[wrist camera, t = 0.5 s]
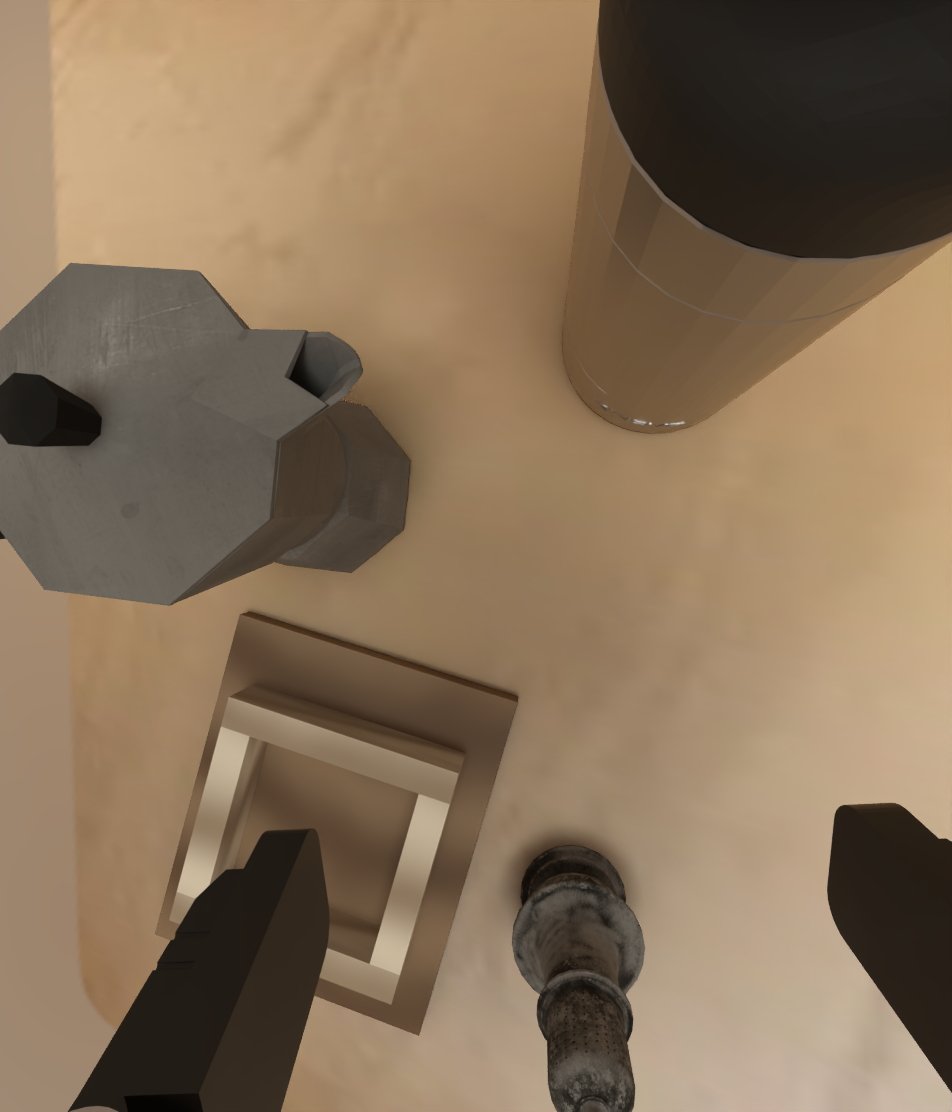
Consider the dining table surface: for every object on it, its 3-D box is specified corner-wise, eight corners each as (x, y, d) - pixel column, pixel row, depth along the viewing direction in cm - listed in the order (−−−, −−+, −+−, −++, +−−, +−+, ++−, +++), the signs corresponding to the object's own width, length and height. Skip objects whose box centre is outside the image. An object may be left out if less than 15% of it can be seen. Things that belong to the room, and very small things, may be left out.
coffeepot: (422, 362, 29) (236, 77, 11) (473, 538, 29) (368, 532, 11) (155, 451, 31) (-373, 328, 13) (202, 618, 31) (-262, 723, 13)
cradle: (249, 612, 30) (212, 620, 27) (518, 697, 29) (515, 718, 26) (167, 921, 31) (120, 969, 28) (422, 1019, 30) (407, 1082, 27)
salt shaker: (528, 826, 29) (522, 1023, 17) (643, 857, 29) (719, 1082, 17) (504, 934, 29) (481, 1202, 18) (617, 967, 29) (673, 1267, 17)
